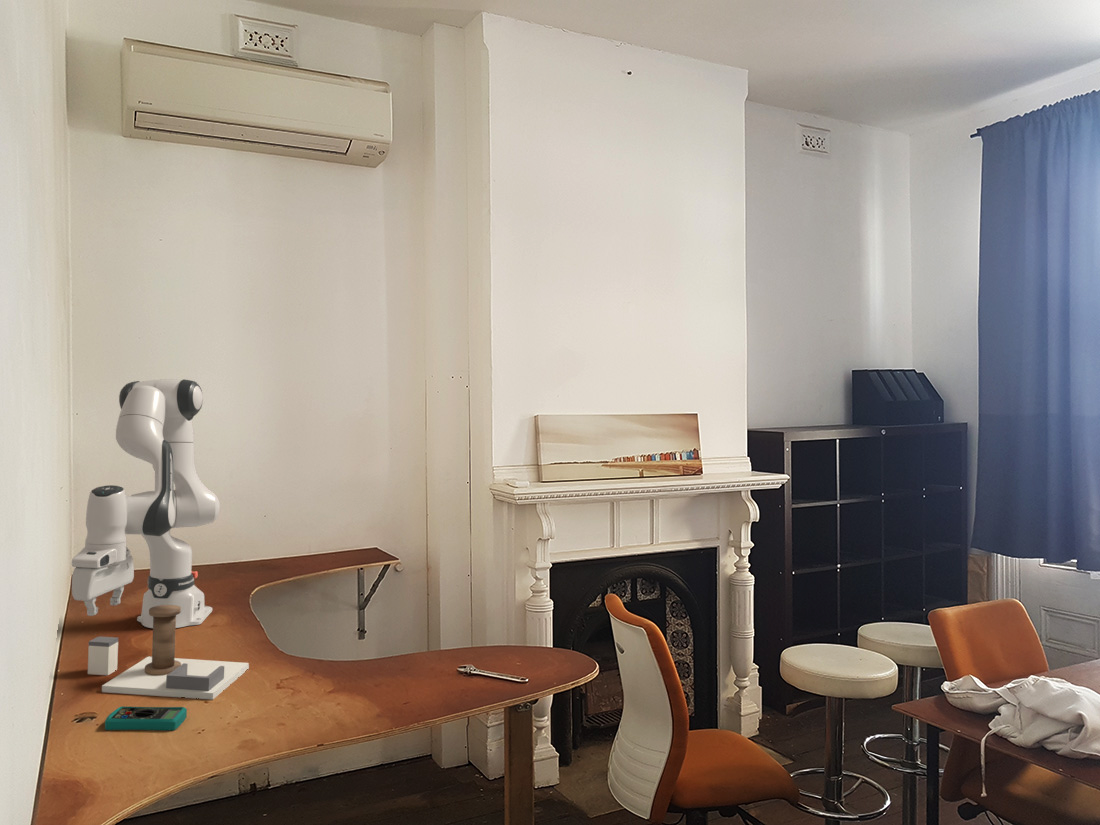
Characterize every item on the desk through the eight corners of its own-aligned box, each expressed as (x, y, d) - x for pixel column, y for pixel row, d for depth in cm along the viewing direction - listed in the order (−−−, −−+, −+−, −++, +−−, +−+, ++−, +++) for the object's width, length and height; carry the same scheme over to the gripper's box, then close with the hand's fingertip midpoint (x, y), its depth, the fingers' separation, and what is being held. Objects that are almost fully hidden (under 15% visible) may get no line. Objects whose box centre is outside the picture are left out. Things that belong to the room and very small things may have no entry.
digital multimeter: (116, 717, 176) (117, 704, 175) (188, 718, 177) (188, 705, 177) (101, 732, 168) (101, 718, 168) (175, 733, 170) (176, 719, 170)
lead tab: (97, 668, 202) (98, 636, 201) (117, 669, 201) (118, 637, 201) (87, 674, 198) (88, 641, 197) (107, 675, 197) (108, 642, 197)
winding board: (148, 662, 207) (148, 644, 207) (248, 668, 206) (249, 651, 206) (101, 692, 187) (102, 672, 187) (212, 699, 186) (213, 680, 186)
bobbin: (155, 662, 203) (157, 603, 202) (186, 664, 203) (189, 605, 202) (137, 674, 195) (139, 612, 195) (170, 676, 195) (172, 614, 194)
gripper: (117, 544, 209) (115, 598, 209) (66, 561, 188) (65, 620, 189) (141, 546, 209) (139, 599, 209) (93, 562, 188) (91, 622, 188)
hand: (104, 609), depth 199 cm, fingers open, 8 cm apart
